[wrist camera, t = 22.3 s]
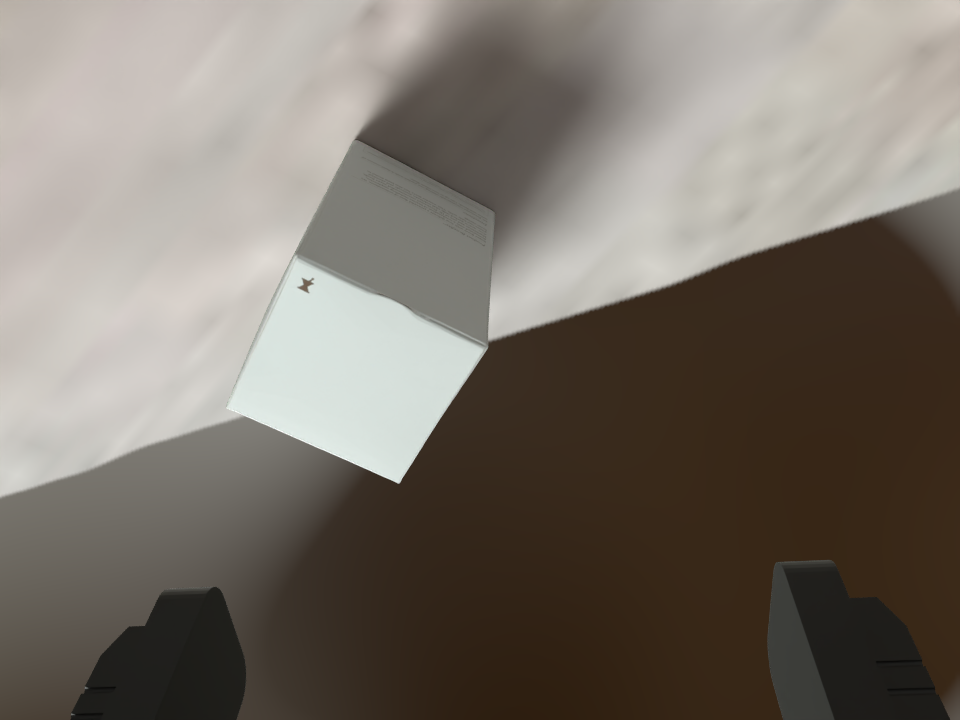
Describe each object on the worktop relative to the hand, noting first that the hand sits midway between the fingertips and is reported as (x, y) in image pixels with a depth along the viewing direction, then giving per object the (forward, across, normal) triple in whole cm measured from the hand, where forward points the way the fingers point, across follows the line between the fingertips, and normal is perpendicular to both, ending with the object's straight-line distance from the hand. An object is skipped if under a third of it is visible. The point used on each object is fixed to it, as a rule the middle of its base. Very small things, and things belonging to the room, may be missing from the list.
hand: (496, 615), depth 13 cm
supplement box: (+38, -8, -10) cm, 40 cm away
